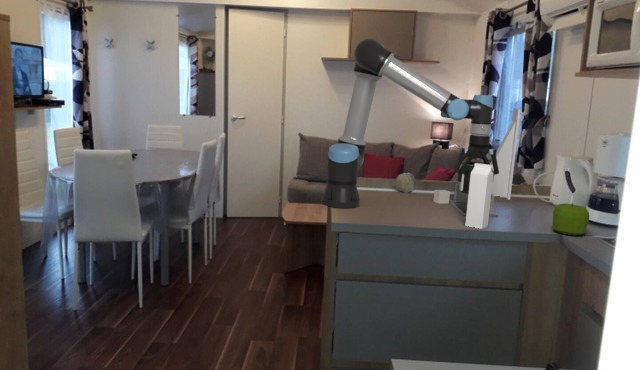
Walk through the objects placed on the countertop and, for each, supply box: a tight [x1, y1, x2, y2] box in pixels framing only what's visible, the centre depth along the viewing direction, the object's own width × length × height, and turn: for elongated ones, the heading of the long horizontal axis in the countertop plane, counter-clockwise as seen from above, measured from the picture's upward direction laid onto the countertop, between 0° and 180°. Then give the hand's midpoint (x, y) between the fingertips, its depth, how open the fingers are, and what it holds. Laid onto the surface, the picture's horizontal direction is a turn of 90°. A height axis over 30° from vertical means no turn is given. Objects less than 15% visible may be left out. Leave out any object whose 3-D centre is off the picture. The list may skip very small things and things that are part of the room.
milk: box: [465, 163, 494, 230], centre depth 183 cm, size 6×6×22 cm
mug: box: [460, 161, 485, 194], centre depth 210 cm, size 11×15×12 cm
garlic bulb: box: [393, 172, 416, 194], centre depth 241 cm, size 9×8×10 cm
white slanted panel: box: [489, 108, 522, 201], centre depth 244 cm, size 20×14×40 cm
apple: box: [551, 203, 590, 236], centre depth 181 cm, size 11×11×11 cm
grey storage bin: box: [448, 181, 499, 218], centre depth 211 cm, size 13×24×9 cm, turn 0°
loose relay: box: [433, 189, 451, 204], centre depth 223 cm, size 5×4×5 cm
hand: (474, 190), depth 211 cm, fingers closed on mug, 10 cm apart
